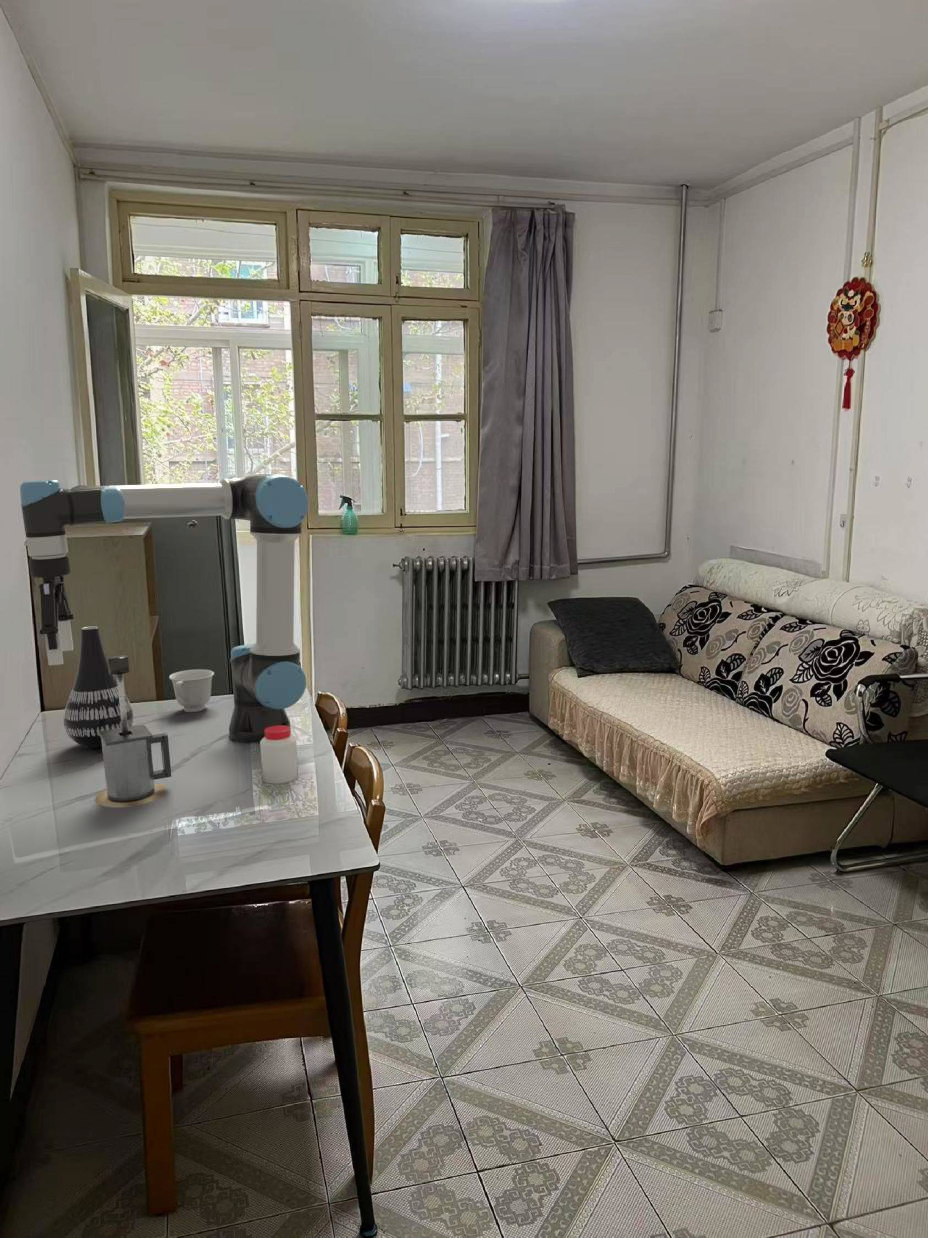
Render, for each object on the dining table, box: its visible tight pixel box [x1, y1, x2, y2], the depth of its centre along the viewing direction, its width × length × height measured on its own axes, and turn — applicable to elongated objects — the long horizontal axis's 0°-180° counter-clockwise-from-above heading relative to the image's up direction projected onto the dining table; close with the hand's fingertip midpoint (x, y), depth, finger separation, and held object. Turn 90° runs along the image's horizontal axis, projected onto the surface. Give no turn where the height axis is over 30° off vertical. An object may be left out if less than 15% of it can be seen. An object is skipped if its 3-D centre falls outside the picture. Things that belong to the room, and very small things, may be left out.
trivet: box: [94, 782, 168, 808], centre depth 191 cm, size 14×14×1 cm
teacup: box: [168, 668, 215, 713], centre depth 254 cm, size 12×15×10 cm
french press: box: [99, 724, 172, 803], centre depth 190 cm, size 13×9×13 cm
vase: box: [63, 625, 134, 751], centre depth 224 cm, size 16×16×30 cm
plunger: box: [107, 654, 131, 735], centre depth 187 cm, size 7×7×19 cm
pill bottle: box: [259, 725, 299, 785], centre depth 200 cm, size 8×8×11 cm
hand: (61, 657), depth 193 cm, fingers open, 13 cm apart
